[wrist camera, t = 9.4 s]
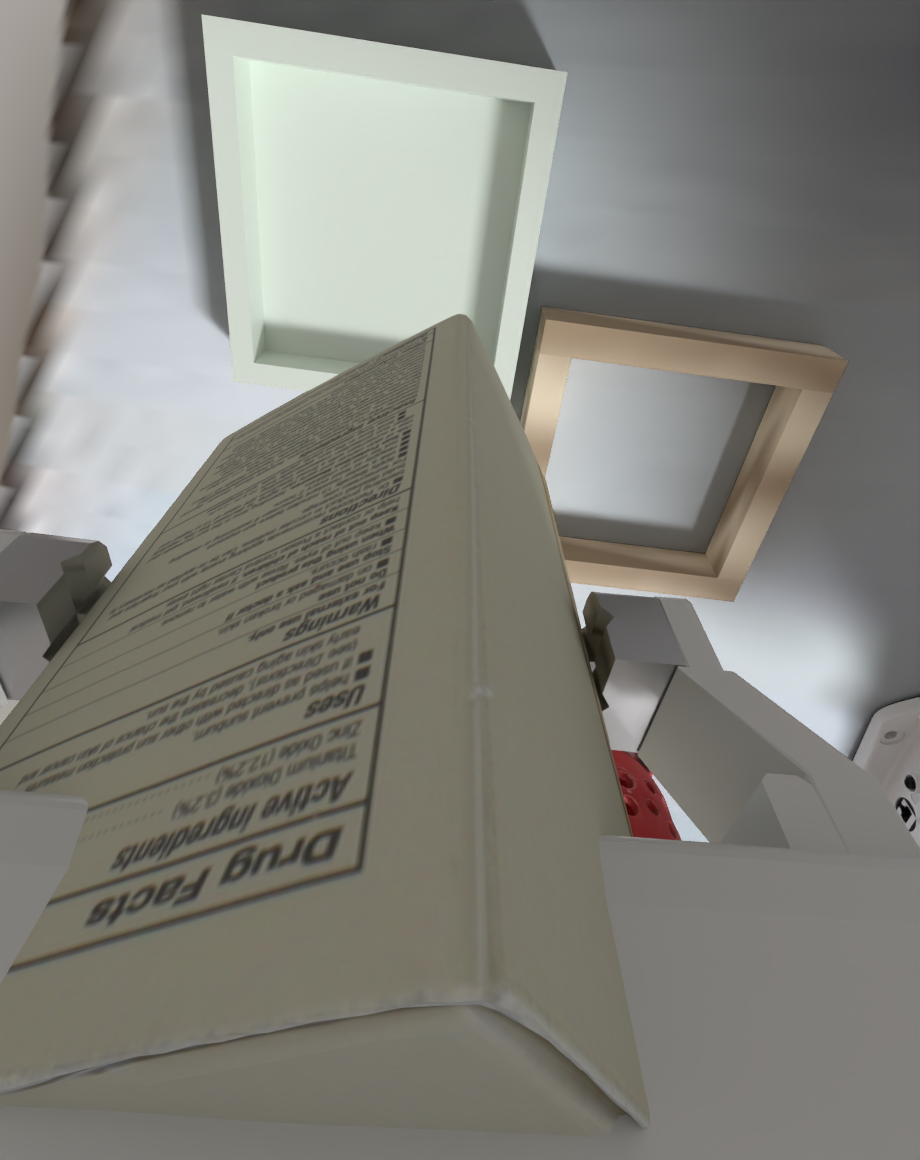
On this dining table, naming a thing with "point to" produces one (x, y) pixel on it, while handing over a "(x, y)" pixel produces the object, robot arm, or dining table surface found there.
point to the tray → (371, 195)
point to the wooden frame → (768, 465)
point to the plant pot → (643, 799)
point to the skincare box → (334, 789)
